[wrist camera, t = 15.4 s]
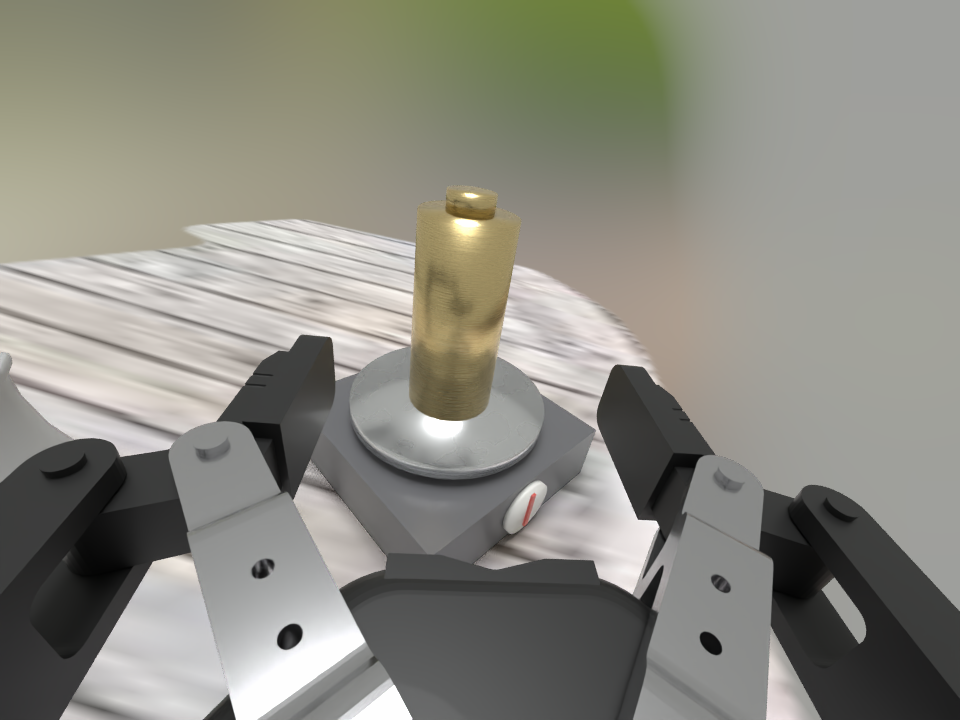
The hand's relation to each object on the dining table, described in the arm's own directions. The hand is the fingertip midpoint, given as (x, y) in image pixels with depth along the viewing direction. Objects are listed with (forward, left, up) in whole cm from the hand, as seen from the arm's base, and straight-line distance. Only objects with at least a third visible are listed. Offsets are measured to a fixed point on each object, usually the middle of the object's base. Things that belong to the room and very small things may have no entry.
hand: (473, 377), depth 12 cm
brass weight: (+7, +8, -9) cm, 14 cm away
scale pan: (+7, +8, -10) cm, 15 cm away
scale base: (+7, +8, -14) cm, 18 cm away
